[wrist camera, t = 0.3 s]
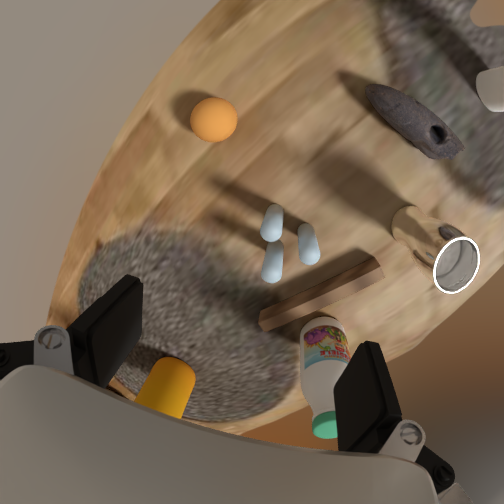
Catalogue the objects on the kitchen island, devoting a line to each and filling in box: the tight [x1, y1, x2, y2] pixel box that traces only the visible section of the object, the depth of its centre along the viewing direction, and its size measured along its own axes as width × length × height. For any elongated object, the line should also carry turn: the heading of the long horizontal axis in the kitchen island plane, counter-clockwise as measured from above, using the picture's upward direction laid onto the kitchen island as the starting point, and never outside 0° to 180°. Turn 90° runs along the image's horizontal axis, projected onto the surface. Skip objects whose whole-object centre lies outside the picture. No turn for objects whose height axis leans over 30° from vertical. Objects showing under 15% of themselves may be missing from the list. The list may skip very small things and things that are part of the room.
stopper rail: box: [258, 257, 385, 332], centre depth 41 cm, size 20×2×4 cm, turn 121°
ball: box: [190, 97, 237, 142], centre depth 33 cm, size 6×6×6 cm
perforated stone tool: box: [365, 84, 465, 160], centre depth 29 cm, size 15×5×7 cm, turn 59°
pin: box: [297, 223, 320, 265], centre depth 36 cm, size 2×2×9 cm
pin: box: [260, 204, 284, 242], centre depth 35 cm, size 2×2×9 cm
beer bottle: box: [134, 357, 195, 419], centre depth 41 cm, size 9×9×29 cm
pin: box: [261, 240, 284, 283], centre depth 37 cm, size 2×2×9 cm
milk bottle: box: [300, 317, 351, 438], centre depth 37 cm, size 8×8×20 cm
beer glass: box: [391, 206, 480, 294], centre depth 30 cm, size 7×7×15 cm
